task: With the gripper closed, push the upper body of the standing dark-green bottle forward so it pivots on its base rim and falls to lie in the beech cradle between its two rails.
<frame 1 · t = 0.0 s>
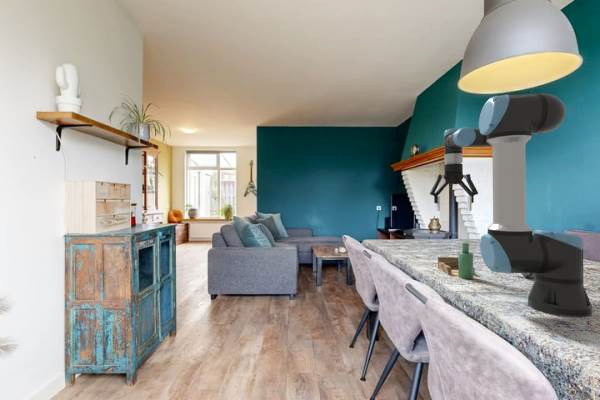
hand: (453, 210, 151), 28 cm above the table, fingers open, 13 cm apart
bottle: (465, 277, 135), point 1 cm above the table, touching cradle
decorative duck model: (535, 278, 138), on the table
cradle: (457, 275, 144), on the table
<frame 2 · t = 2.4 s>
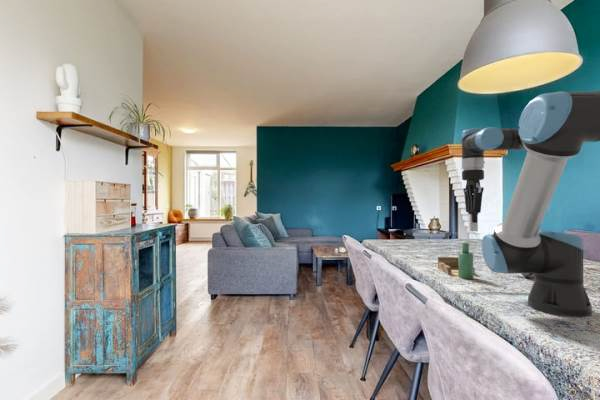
hand: (473, 231, 128), 21 cm above the table, fingers closed
nothing on the table moved.
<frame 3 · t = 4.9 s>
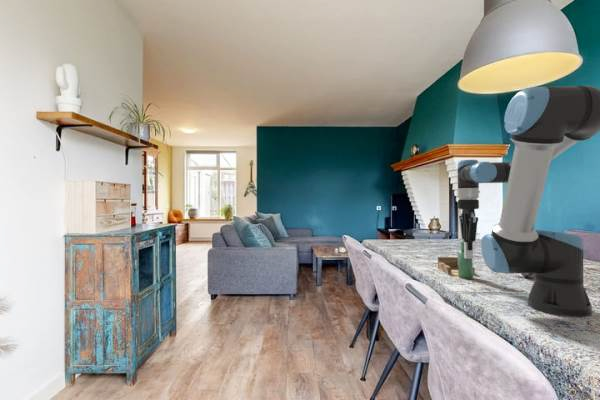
hand: (468, 258, 133), 10 cm above the table, fingers closed
bottle: (465, 276, 135), point 1 cm above the table, tilted 6°, touching cradle, gripper
everything else where it was.
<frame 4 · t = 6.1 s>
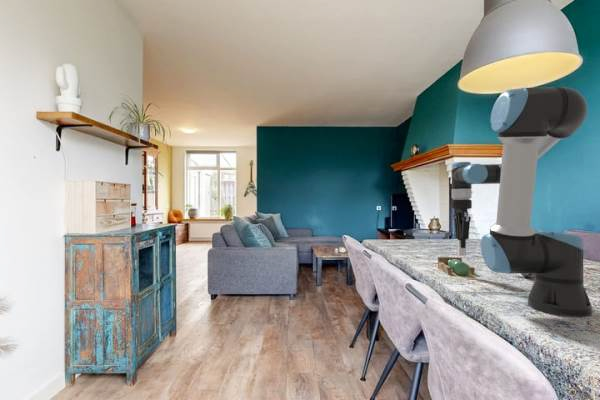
hand: (461, 255, 139), 10 cm above the table, fingers closed
bottle: (463, 269, 138), point 4 cm above the table, tilted 90°, touching cradle
everything else where it was.
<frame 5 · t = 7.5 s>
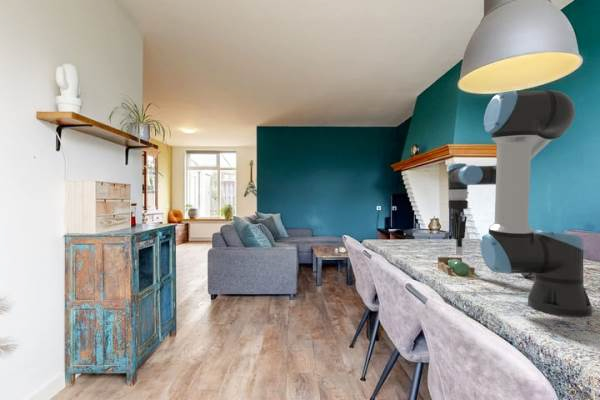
hand: (458, 254, 143), 9 cm above the table, fingers closed
nothing on the table moved.
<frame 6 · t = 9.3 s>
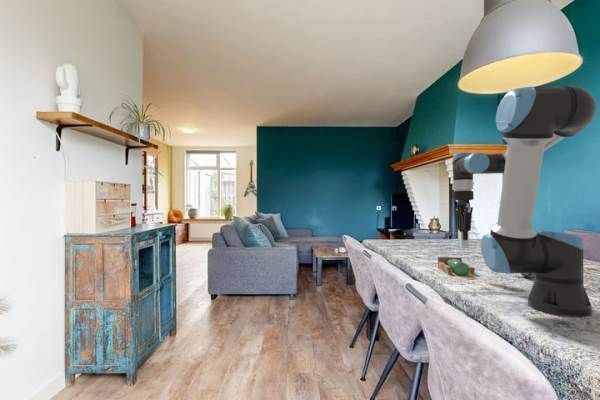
hand: (464, 247, 137), 13 cm above the table, fingers closed
nothing on the table moved.
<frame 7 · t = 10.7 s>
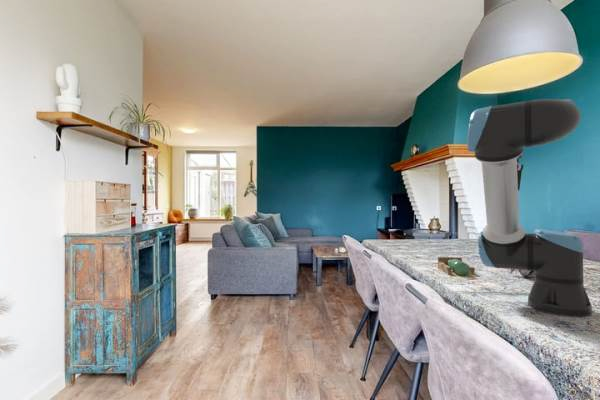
hand: (510, 209, 128), 29 cm above the table, fingers closed
nothing on the table moved.
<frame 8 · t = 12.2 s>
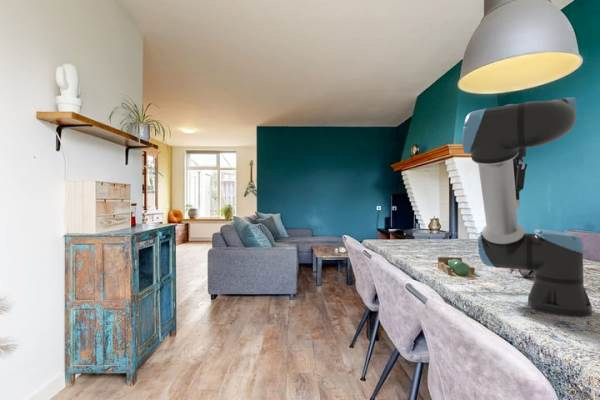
hand: (514, 208, 128), 29 cm above the table, fingers closed
nothing on the table moved.
at the end: bottle tilted 90°; bottle inside the target area on the cradle (5.3 cm from its centre), point 3.9 cm above the cradle's base; bottle touching cradle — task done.
